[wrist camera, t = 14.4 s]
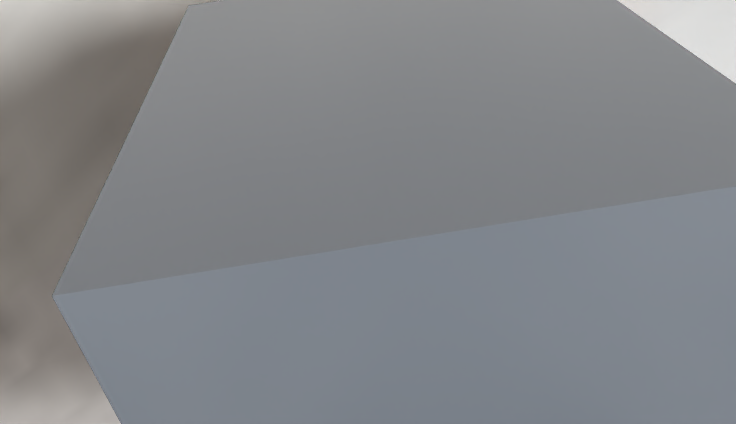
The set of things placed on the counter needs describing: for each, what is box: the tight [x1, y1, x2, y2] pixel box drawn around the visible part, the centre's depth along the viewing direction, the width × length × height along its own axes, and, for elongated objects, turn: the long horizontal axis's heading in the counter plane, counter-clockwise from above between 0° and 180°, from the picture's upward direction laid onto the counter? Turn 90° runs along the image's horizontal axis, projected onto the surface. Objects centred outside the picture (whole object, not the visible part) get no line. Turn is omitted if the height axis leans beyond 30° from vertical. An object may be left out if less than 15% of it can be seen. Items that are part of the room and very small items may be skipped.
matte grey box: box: [52, 0, 736, 424], centre depth 13 cm, size 7×12×9 cm, turn 7°
